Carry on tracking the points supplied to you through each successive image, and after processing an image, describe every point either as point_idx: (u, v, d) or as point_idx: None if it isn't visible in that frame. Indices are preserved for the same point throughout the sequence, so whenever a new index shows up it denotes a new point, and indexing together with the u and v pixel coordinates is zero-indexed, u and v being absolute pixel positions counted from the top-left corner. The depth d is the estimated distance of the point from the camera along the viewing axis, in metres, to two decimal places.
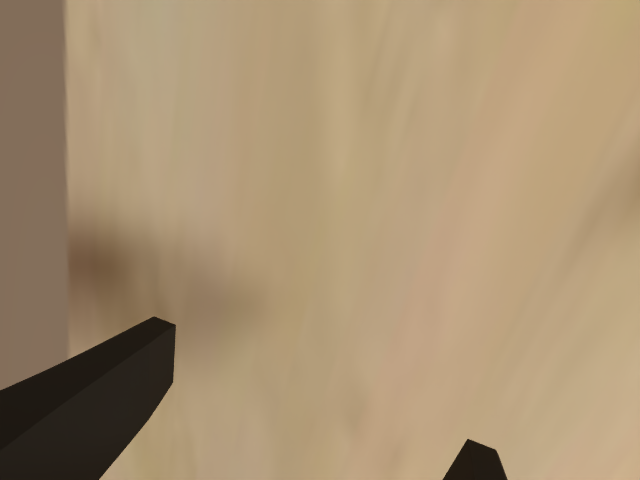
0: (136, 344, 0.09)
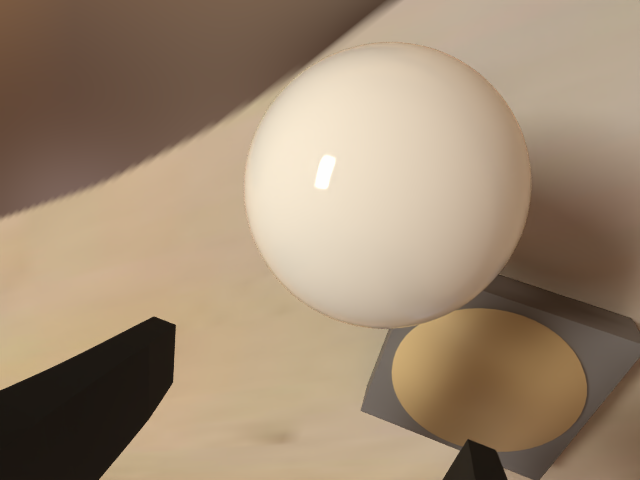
0: (136, 344, 0.09)
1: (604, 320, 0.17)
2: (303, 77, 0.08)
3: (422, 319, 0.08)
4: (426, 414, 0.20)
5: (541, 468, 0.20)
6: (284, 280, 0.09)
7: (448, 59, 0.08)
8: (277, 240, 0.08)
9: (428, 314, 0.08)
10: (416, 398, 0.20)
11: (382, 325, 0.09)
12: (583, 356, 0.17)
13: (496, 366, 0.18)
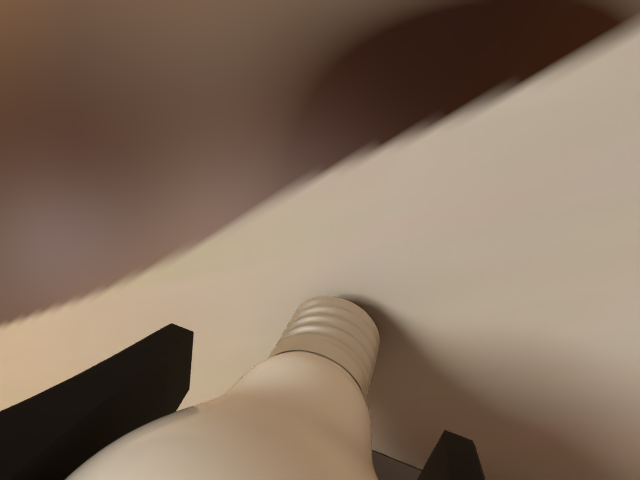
0: (156, 352, 0.09)
1: None
2: None
3: None
4: None
5: None
6: None
7: None
8: None
9: None
10: None
11: None
12: None
13: None
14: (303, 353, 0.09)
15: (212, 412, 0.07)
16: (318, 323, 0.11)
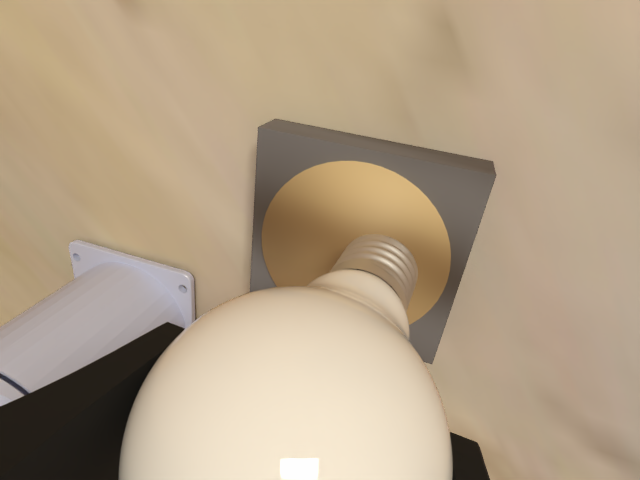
0: (151, 350, 0.09)
1: None
2: (187, 365, 0.07)
3: None
4: (289, 206, 0.17)
5: None
6: None
7: (357, 388, 0.06)
8: None
9: None
10: (308, 193, 0.17)
11: None
12: (409, 326, 0.18)
13: None
14: (362, 271, 0.12)
15: (308, 288, 0.09)
16: (372, 253, 0.13)
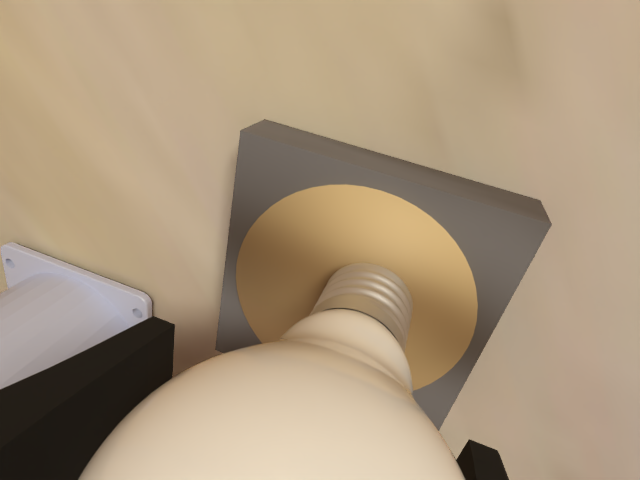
0: (135, 344, 0.09)
1: None
2: None
3: None
4: (274, 234, 0.13)
5: None
6: None
7: None
8: None
9: None
10: (300, 222, 0.13)
11: None
12: (413, 391, 0.15)
13: None
14: (352, 311, 0.10)
15: (293, 347, 0.07)
16: (362, 287, 0.11)
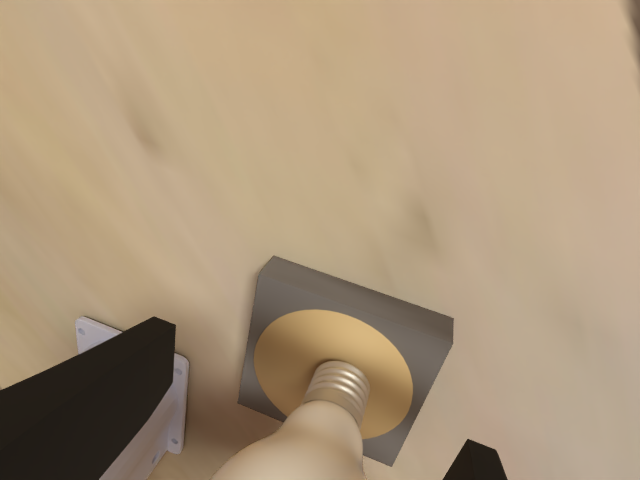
0: (136, 344, 0.09)
1: None
2: None
3: None
4: (280, 336, 0.20)
5: (252, 406, 0.23)
6: None
7: None
8: None
9: None
10: (297, 330, 0.20)
11: None
12: (375, 437, 0.22)
13: None
14: (328, 403, 0.17)
15: (293, 442, 0.14)
16: (335, 382, 0.18)
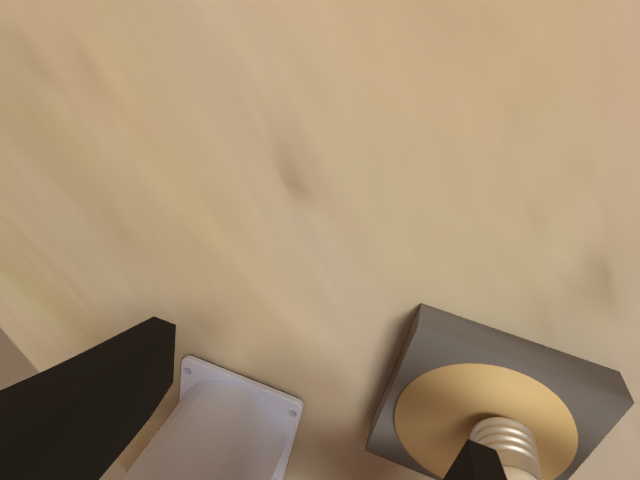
0: (136, 344, 0.09)
1: None
2: None
3: None
4: (431, 388, 0.19)
5: (382, 454, 0.22)
6: None
7: None
8: None
9: None
10: (454, 383, 0.19)
11: None
12: None
13: None
14: (518, 470, 0.16)
15: None
16: (512, 444, 0.17)
